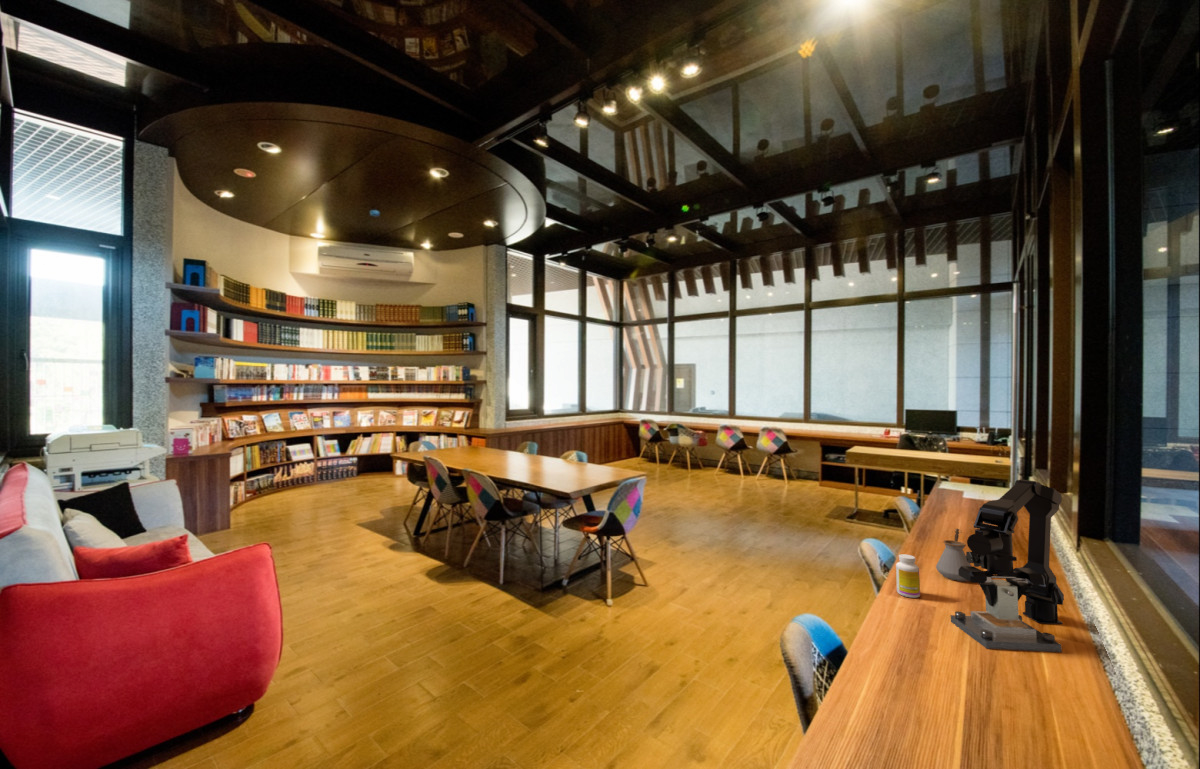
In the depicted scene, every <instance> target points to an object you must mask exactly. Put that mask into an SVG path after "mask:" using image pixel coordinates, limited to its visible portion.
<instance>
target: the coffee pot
mask: <svg viewBox="0 0 1200 769" xmlns="http://www.w3.org/2000/svg"><path fill="white" fill-rule="evenodd" d="M954 532H955V534H954V540H949V539H947V540H943V543H944V546H945V547H944V550H943V551H942V554H941V555H940V557H939V560H938V561H937V563H936V564H935V568H936V570H937V572H938V573H939V575H943V576H944V578H945V577H946V578H945V579H947V578H948V580H950V579H952V580H951V581H954V580H957V581H956V582H969V581H968V580H966V579H964V578H963V577H961V576H959V572H958V569H959V568H960V567H961V566H972V565H971V563H968V562H967V559H966V552H965V550H964V549H965V547H966V546H967V543H966V544H965V543H963V542H961V541H959V537H960V533H962V530H961V529H959V528H956V529H954ZM943 576H942V577H943Z"/></svg>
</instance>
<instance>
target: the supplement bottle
mask: <svg viewBox="0 0 1200 769" xmlns="http://www.w3.org/2000/svg"><path fill="white" fill-rule="evenodd" d="M898 559H899V561H898V562H896V563H895V571H896V572H895V574H896V575H895V578H896V579H895V580H896V592H897V593H898V594H899V595H900V596H903V597H906V598H911V599H916V598H919V597H920V596H921V588H920V587H921V586H920V585H921V584H920V582H921V580H920V567H919V566H918V565H917V564H915V562H916V557H915V556H913V555H911V554H906V553H905V554H904V553H902V554H898Z"/></svg>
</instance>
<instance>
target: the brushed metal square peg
mask: <svg viewBox="0 0 1200 769" xmlns="http://www.w3.org/2000/svg"><path fill="white" fill-rule="evenodd" d="M991 581H992V583H993V584H995V585H996V587H995V599H994V605H993V606H990V605H989V603H988V601H987V599H986V597H985V596H984V597H985V598H984V599H985V612H988V613H990V614H991V615H993V616H995V617H996V618H998V619H1007V620H1019V615H1020V614H1019V601H1018V592H1017V586H1015V585H1013V584H1011V583H1009V582H1007V581H1006V579H997V578H991Z"/></svg>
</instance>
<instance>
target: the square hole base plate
mask: <svg viewBox="0 0 1200 769" xmlns="http://www.w3.org/2000/svg"><path fill="white" fill-rule="evenodd" d="M1018 615H1019V620H1007V619H998V618H996V617H995V616H993V615H991V614H990V613H988V612H987V611H984V610H983V611H982V610H981V611H979V610H970V615H966V613H965V612H962V611H959V610H957V611H955V612H954V614H950V623H951V624H953V625H954V624H955V626H956V627H957V628H958V627H959V630H961V631H962V630H963V632H964V633H965V634H967V635H968V636H969V637H970V638H971V639H973V640H974V641H976V643H979V645H981V646H983V647H984V648H985V649H987V650H1007V651H1008V650H1009V651H1025V652H1026V651H1027V652H1028V651H1029V652H1042V653H1043V652H1048V653H1062V644H1061V643H1059V642H1058V641H1056V639H1055V638H1056V637H1055V635H1054V634H1052V633H1049V632H1046V631H1045V632H1041V631H1040V630H1037V629H1036V628H1034V627H1032V626H1031V625H1029V624H1028V623H1026V622H1024V621H1023V616H1022V615H1020V614H1018Z"/></svg>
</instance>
